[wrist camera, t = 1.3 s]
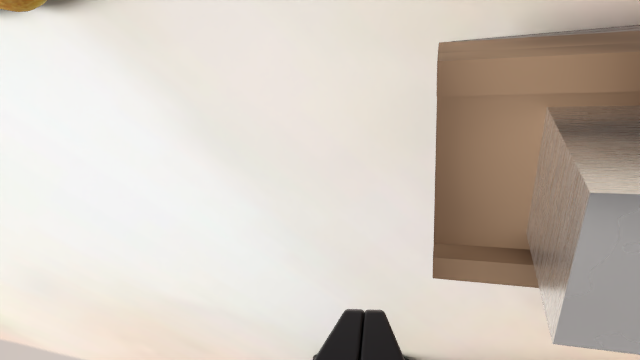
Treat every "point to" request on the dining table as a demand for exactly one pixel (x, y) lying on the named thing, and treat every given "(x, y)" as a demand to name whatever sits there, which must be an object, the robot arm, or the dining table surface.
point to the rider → (589, 226)
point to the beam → (510, 139)
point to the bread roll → (20, 5)
